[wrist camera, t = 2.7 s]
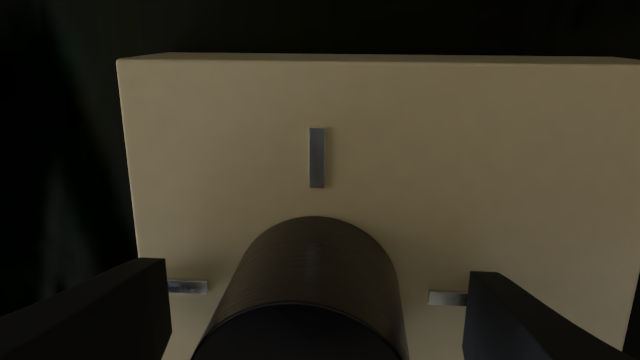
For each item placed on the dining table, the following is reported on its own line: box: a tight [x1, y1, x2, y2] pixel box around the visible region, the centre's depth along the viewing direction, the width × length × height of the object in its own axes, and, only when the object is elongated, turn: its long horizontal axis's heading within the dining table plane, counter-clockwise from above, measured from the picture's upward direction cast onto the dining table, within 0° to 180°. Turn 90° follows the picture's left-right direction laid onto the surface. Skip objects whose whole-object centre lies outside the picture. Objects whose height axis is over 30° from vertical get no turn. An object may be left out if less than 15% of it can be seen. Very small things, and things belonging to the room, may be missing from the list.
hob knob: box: [190, 216, 410, 360], centre depth 10 cm, size 4×4×4 cm
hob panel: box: [116, 52, 640, 360], centre depth 13 cm, size 12×11×3 cm
